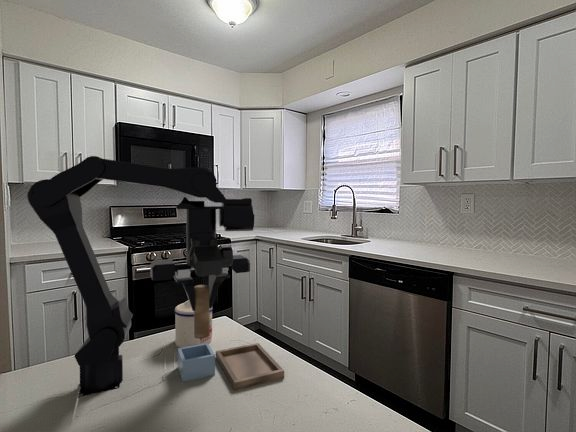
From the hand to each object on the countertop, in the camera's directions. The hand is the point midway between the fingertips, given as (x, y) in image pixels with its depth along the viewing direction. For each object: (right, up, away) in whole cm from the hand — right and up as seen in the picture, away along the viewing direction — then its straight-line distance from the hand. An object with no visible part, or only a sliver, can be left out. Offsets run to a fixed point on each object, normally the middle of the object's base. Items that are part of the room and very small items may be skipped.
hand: (201, 309), depth 66 cm
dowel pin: (0, -5, 0) cm, 5 cm away
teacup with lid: (-6, -13, +16) cm, 21 cm away
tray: (+9, -13, +2) cm, 16 cm away
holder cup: (-1, -13, 0) cm, 13 cm away
